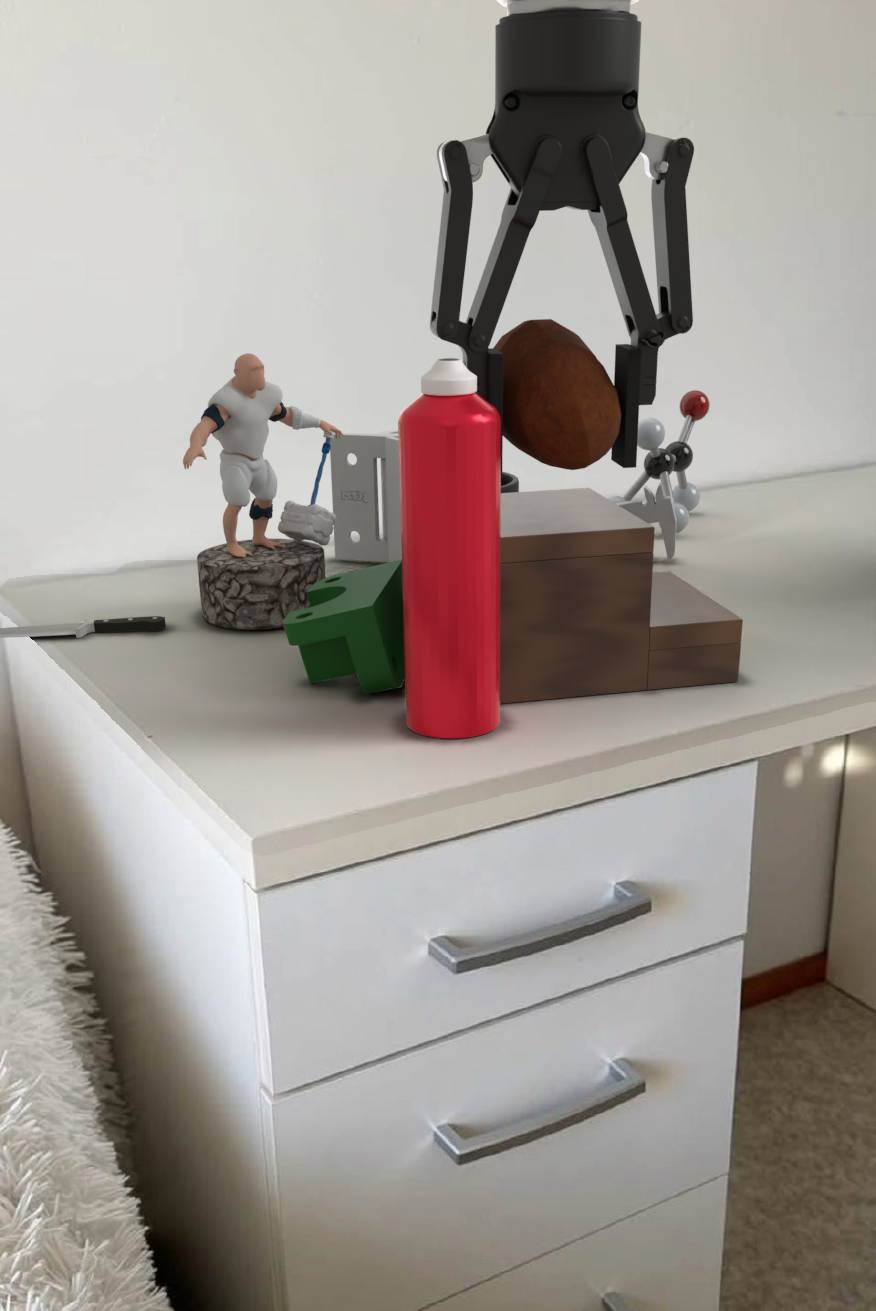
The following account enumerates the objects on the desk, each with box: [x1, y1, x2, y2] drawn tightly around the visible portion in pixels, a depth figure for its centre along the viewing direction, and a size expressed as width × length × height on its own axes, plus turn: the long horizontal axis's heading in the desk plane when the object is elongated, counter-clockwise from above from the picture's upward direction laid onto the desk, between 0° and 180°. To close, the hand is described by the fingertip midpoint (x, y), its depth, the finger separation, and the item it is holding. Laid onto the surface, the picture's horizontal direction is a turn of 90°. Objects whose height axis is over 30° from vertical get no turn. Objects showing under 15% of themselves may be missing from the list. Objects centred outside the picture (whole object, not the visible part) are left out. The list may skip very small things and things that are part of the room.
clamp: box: [282, 559, 405, 695], centre depth 90 cm, size 12×6×9 cm, turn 166°
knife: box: [0, 615, 167, 639], centre depth 99 cm, size 15×1×2 cm
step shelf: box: [500, 487, 744, 705], centre depth 89 cm, size 16×12×10 cm
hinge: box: [329, 429, 402, 563], centre depth 112 cm, size 14×5×10 cm, turn 46°
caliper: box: [615, 482, 677, 561], centre depth 116 cm, size 20×1×6 cm, turn 78°
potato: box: [493, 318, 621, 471], centre depth 83 cm, size 8×12×8 cm, turn 21°
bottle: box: [397, 357, 501, 739], centre depth 78 cm, size 6×5×20 cm
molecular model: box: [607, 389, 711, 535], centre depth 126 cm, size 8×12×11 cm
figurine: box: [182, 352, 343, 630], centre depth 99 cm, size 15×9×18 cm, turn 141°
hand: (557, 465), depth 83 cm, fingers closed on potato, 7 cm apart
